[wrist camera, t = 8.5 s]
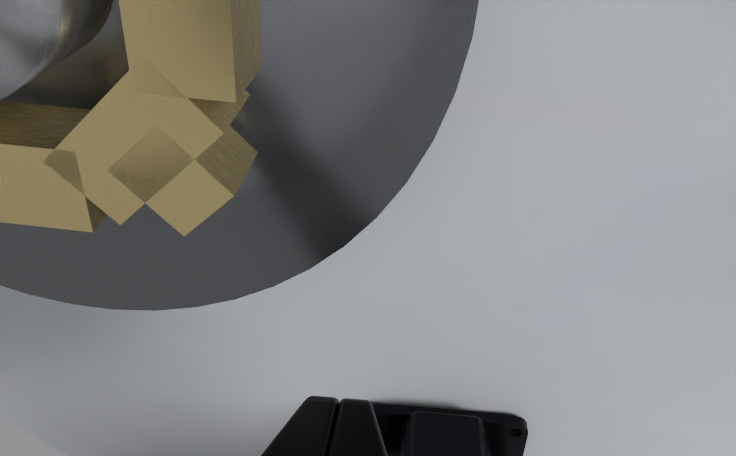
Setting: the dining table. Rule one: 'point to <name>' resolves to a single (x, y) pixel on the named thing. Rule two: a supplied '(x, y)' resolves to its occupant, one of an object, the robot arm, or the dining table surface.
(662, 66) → the dining table surface
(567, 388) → the dining table surface
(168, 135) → the gold block ring
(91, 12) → the grey round shallow disc
